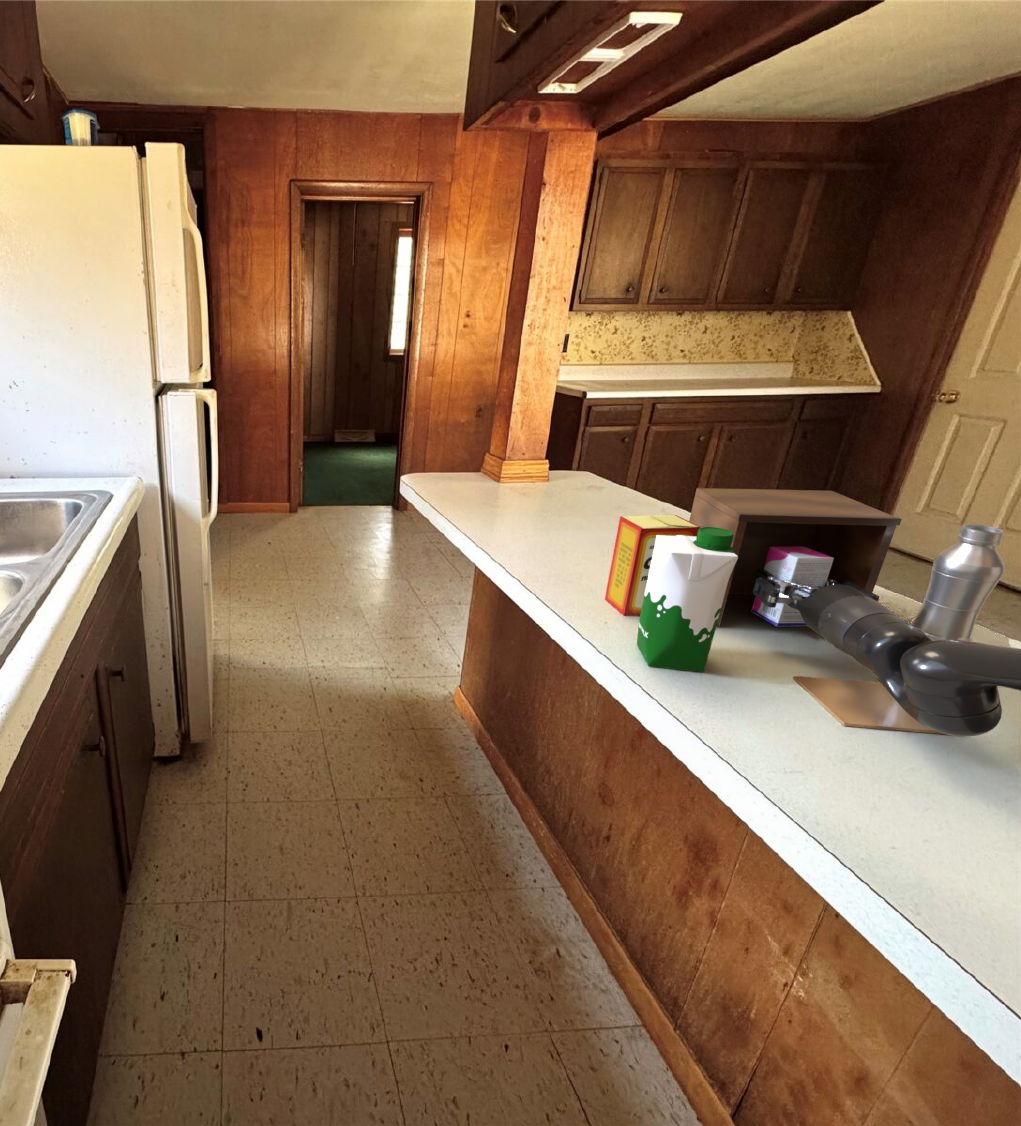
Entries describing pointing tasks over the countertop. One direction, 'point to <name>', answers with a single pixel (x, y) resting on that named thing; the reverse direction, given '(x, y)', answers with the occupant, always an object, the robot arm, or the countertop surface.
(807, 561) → the supplement box
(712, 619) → the milk carton
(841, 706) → the cork mat
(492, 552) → the countertop surface
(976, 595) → the silver metal bottle
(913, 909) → the countertop surface
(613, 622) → the countertop surface
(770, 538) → the cupboard
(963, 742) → the countertop surface
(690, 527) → the baking soda box
